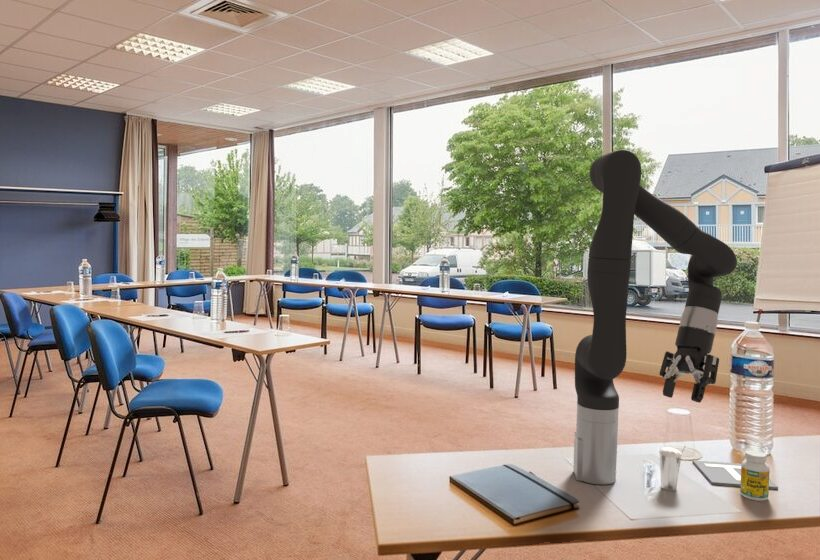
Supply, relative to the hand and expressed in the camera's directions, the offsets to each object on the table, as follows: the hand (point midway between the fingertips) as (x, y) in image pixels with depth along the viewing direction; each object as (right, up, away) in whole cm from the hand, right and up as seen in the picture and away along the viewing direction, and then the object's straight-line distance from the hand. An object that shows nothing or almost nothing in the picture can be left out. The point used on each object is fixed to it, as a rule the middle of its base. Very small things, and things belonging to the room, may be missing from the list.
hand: (681, 399), depth 133 cm
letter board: (+17, -20, +9) cm, 28 cm away
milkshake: (-2, -20, +1) cm, 21 cm away
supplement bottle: (+15, -21, -3) cm, 26 cm away
